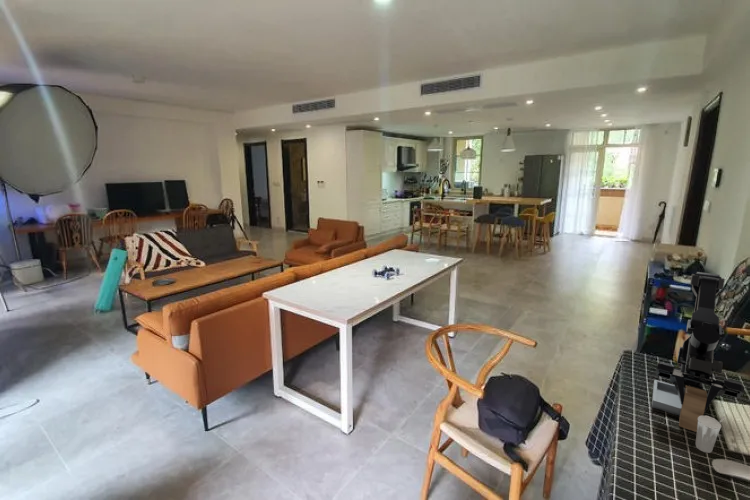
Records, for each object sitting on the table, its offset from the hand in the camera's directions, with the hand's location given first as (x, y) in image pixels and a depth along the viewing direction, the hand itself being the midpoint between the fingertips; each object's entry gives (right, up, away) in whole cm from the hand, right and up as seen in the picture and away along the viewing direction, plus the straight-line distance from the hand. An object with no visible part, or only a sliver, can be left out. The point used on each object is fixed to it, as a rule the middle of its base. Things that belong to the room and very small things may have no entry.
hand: (693, 407), depth 103 cm
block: (+1, -6, +3) cm, 7 cm away
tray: (+4, -4, +13) cm, 14 cm away
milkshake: (-2, -8, -6) cm, 11 cm away
